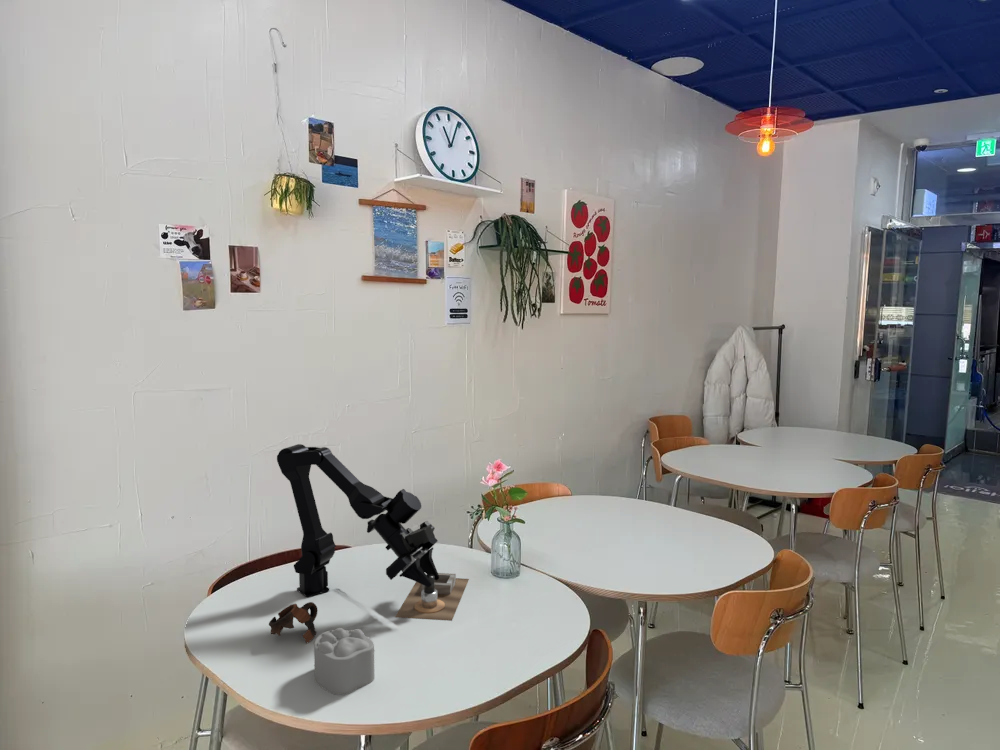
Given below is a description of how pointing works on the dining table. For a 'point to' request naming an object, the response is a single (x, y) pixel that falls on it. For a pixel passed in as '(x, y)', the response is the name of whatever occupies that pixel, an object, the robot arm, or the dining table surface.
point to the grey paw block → (343, 660)
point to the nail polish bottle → (429, 594)
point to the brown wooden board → (447, 599)
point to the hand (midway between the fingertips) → (434, 582)
